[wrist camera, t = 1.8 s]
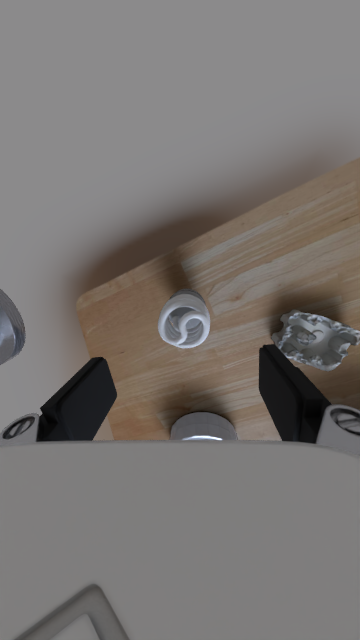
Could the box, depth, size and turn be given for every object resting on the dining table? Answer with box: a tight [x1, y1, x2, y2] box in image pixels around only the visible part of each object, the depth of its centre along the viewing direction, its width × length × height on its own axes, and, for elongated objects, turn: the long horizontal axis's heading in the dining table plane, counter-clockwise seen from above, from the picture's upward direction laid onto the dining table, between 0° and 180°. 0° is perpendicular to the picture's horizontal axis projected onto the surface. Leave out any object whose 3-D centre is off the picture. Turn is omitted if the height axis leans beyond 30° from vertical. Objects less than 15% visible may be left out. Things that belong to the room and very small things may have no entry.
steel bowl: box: [169, 412, 238, 440], centre depth 35 cm, size 14×14×6 cm
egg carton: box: [271, 310, 360, 371], centre depth 26 cm, size 11×8×4 cm
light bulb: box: [158, 289, 210, 348], centre depth 22 cm, size 6×6×12 cm
